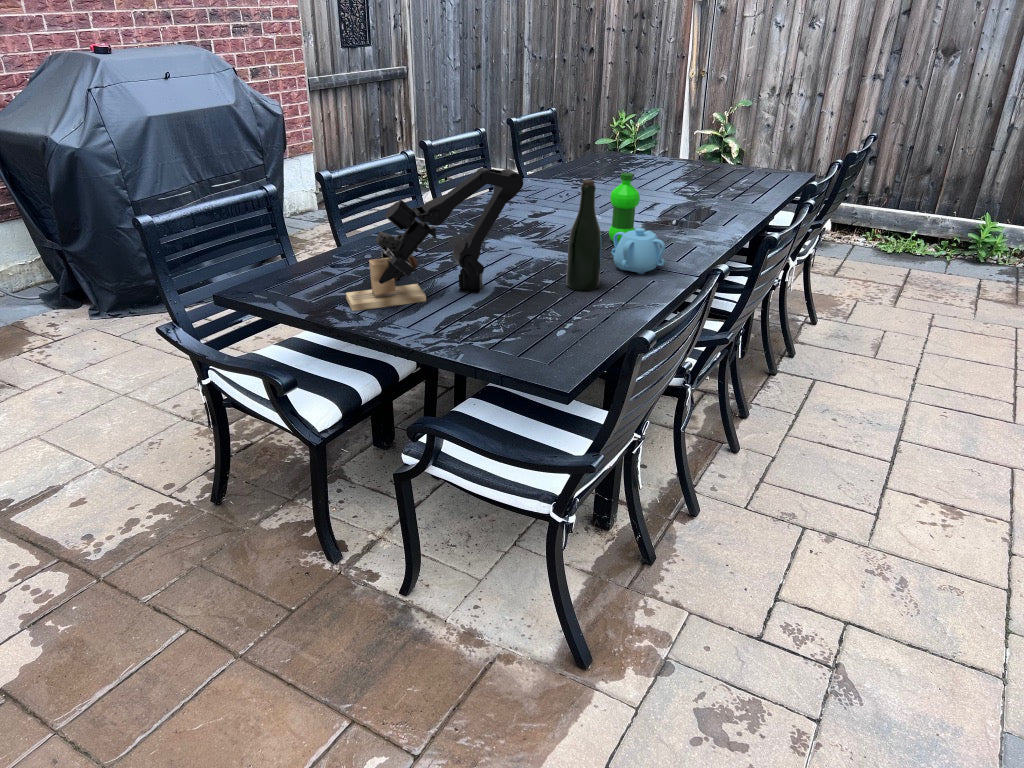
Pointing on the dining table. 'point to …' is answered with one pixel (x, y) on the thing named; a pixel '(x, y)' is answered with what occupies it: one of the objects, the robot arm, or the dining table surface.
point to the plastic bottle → (623, 206)
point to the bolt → (412, 262)
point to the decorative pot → (638, 251)
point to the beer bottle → (585, 244)
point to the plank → (385, 298)
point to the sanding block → (376, 272)
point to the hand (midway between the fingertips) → (377, 279)
